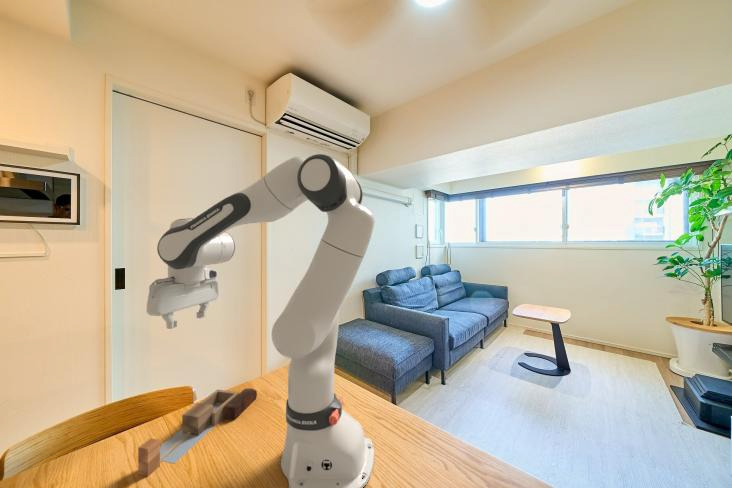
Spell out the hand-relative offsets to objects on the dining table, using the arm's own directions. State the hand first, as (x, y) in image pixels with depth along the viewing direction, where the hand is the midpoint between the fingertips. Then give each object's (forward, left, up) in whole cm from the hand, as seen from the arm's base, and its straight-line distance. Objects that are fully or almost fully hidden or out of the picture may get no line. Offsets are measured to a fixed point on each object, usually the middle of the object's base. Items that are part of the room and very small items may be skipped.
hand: (187, 322), depth 72 cm
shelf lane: (-6, +2, -29) cm, 30 cm away
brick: (-12, -7, -30) cm, 33 cm away
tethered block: (-6, +8, -28) cm, 30 cm away
